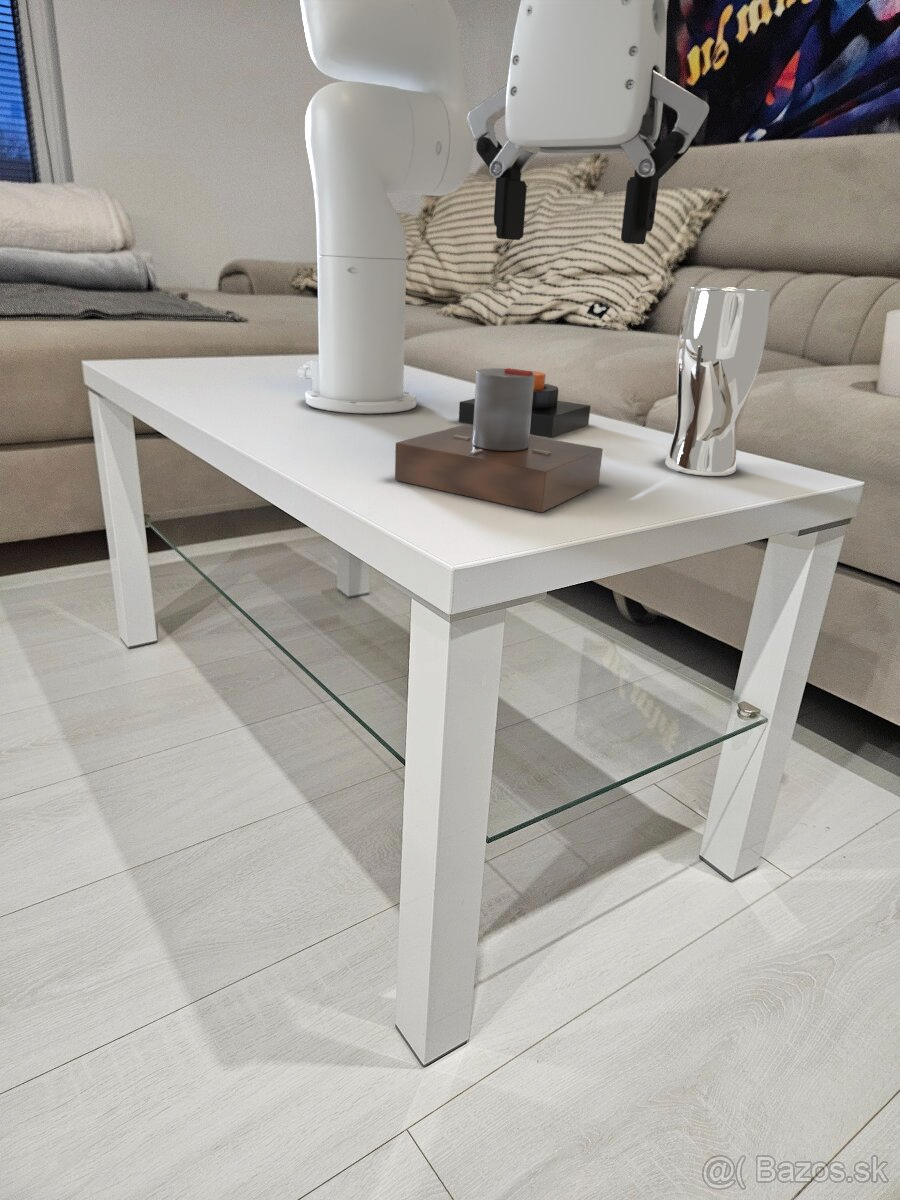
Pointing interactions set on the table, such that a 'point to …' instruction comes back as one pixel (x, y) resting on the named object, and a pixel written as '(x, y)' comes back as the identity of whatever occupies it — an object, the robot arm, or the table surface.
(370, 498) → the table surface
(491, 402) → the knob
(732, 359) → the beer glass
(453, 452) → the brown wooden base
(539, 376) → the button
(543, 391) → the button box
